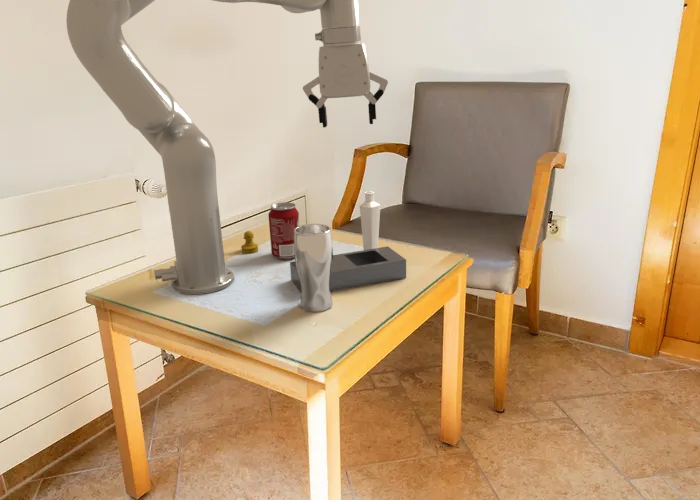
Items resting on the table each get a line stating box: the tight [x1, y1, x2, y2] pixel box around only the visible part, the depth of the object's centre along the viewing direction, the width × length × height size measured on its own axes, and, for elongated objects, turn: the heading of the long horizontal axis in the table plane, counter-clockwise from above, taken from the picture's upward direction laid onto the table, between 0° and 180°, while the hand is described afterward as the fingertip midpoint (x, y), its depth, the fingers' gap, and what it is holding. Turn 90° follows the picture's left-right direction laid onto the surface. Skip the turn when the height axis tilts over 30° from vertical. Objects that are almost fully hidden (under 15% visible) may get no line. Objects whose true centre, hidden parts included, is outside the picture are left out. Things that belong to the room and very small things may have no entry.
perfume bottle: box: [359, 190, 381, 250], centre depth 132 cm, size 5×4×15 cm
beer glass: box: [294, 223, 334, 313], centre depth 109 cm, size 7×7×15 cm
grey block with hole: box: [289, 246, 407, 293], centre depth 122 cm, size 22×9×4 cm, turn 111°
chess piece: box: [240, 230, 259, 255], centre depth 140 cm, size 4×4×5 cm
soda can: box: [267, 201, 300, 261], centre depth 135 cm, size 7×7×12 cm
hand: (348, 124), depth 123 cm, fingers open, 9 cm apart
